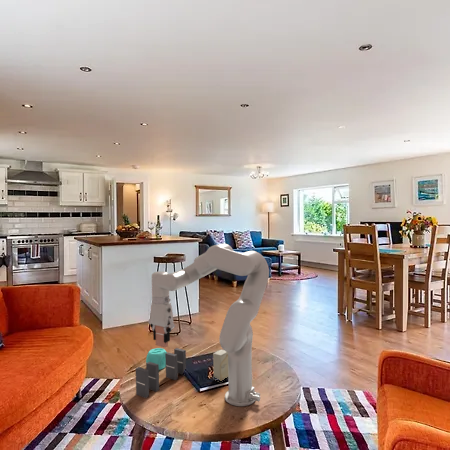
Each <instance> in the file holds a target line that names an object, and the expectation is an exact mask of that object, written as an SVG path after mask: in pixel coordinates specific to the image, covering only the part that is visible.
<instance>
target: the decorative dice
mask: <svg viewBox="0 0 450 450" xmlns="http://www.w3.org/2000/svg"><path fill="white" fill-rule="evenodd" d="M166 353H168V352H167V351H166V349H165V348H163V347H156V348H151V349H150V350H149V351H148V353H147V354H146V358H145V364H146V363H148V362H152V363H155V364H159V371H160V370H161V371H162V370H163V369H166V359H165V354H166Z"/></svg>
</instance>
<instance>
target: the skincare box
mask: <svg viewBox="0 0 450 450" xmlns="http://www.w3.org/2000/svg"><path fill="white" fill-rule="evenodd" d="M212 358H213V359H212V360H213V362H212V363H213V365H212V366H213V368H212V369H213V378H214V377H215V378H217V379H219V380H220V381H222V380H224V379H225V378H227V377H228V352H226V351H225V350H224V349H223V348H222V349H219V350H217V351H216V352H213V354H212ZM227 379H228V378H227ZM224 381H225V380H224ZM222 382H223V381H222Z"/></svg>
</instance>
